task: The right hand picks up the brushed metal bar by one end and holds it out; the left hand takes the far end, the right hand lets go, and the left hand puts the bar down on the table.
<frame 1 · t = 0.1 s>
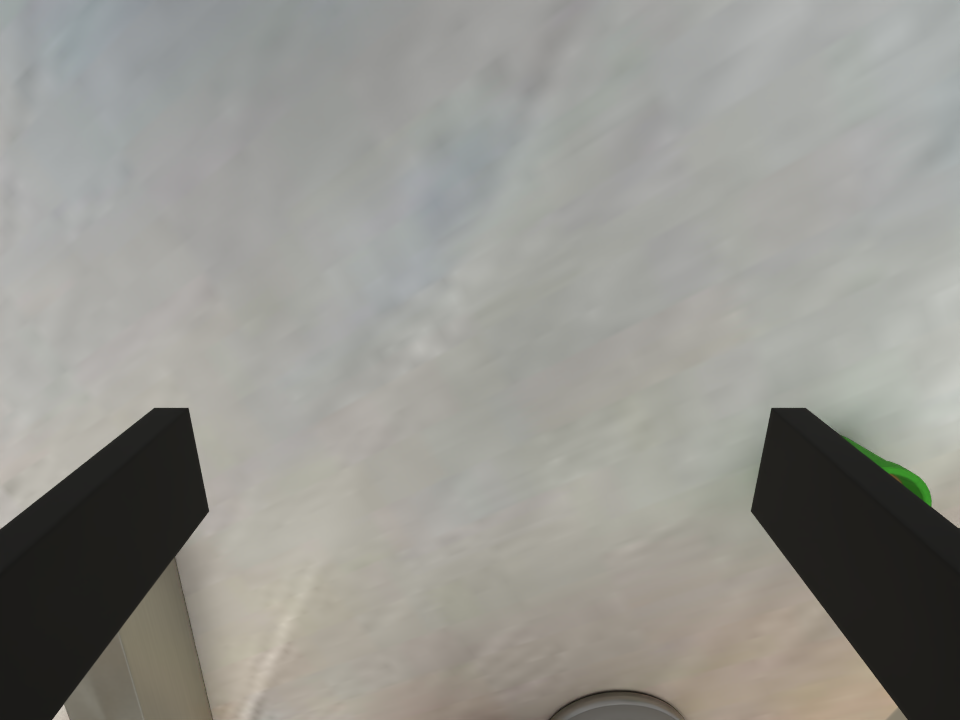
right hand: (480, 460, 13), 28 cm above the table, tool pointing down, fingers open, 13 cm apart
bar: (162, 639, 51), on the table
potted flower: (820, 467, 45), on the table
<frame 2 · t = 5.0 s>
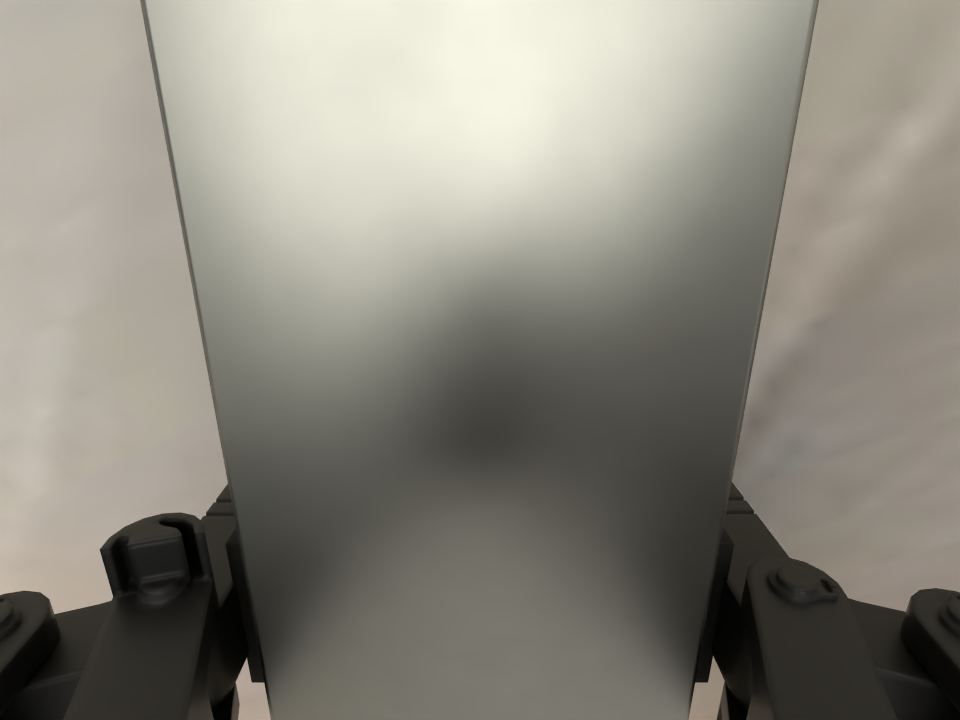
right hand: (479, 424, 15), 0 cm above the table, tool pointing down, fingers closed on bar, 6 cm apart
bar: (479, 27, 12), on the table, touching right hand
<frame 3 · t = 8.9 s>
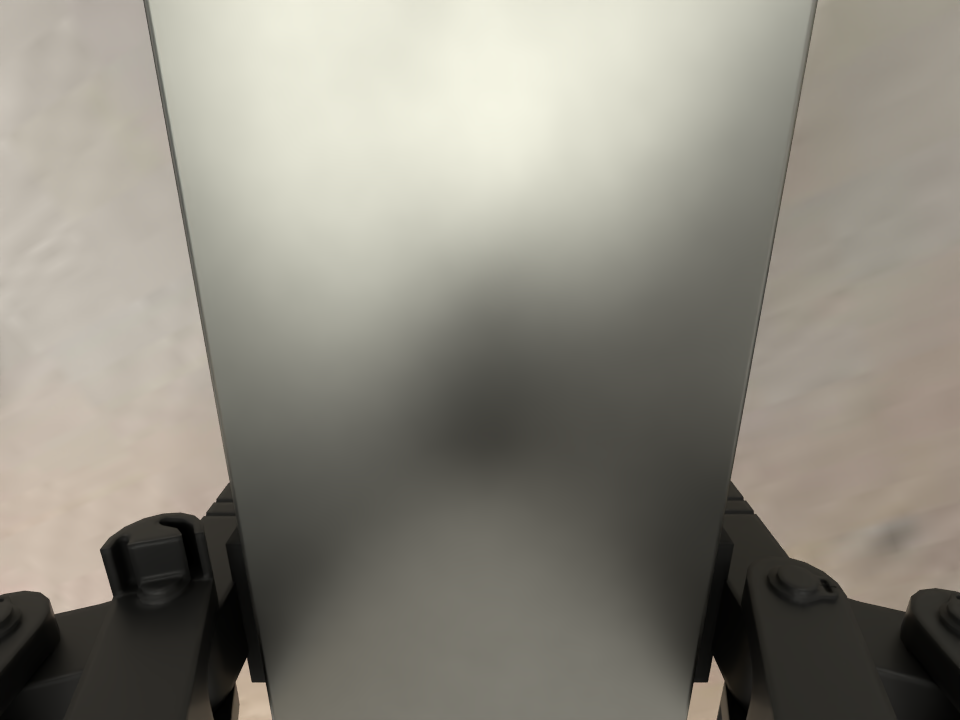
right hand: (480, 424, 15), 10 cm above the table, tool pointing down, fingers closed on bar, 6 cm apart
bar: (480, 27, 12), point 10 cm above the table, touching right hand, left hand
when the right hand's fingers open (10 cm above the table, at t = 9.8 s): bar stays where it is, held by the left hand.
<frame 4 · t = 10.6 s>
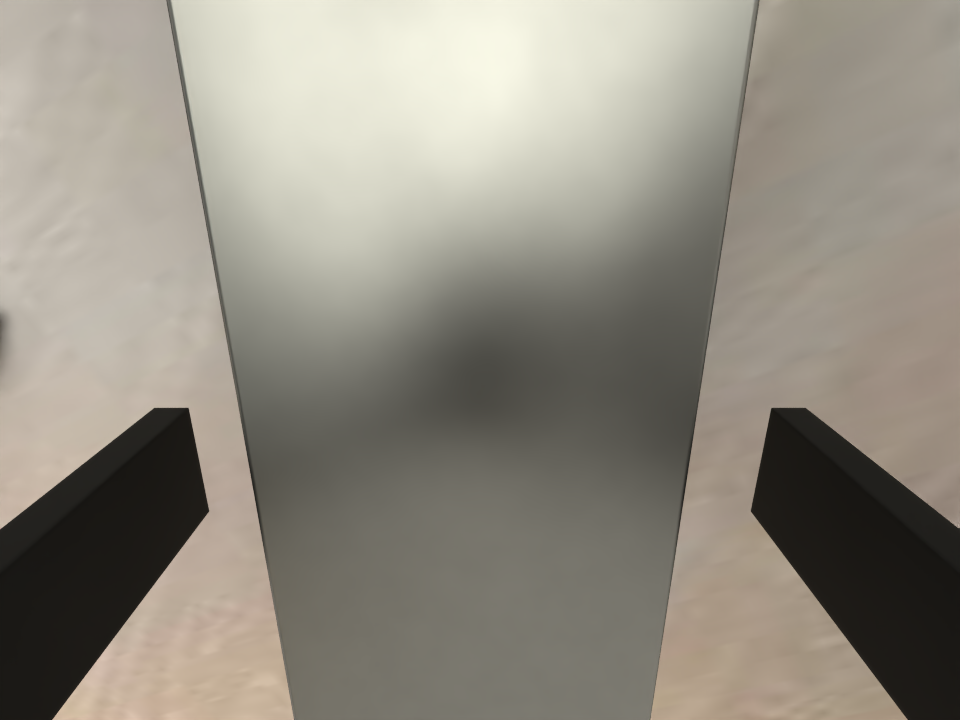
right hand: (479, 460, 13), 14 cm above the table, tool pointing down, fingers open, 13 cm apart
when the left hand's fingers open (4 cm above the table, at t = 20.3 s): bar stays where it is, on the table.
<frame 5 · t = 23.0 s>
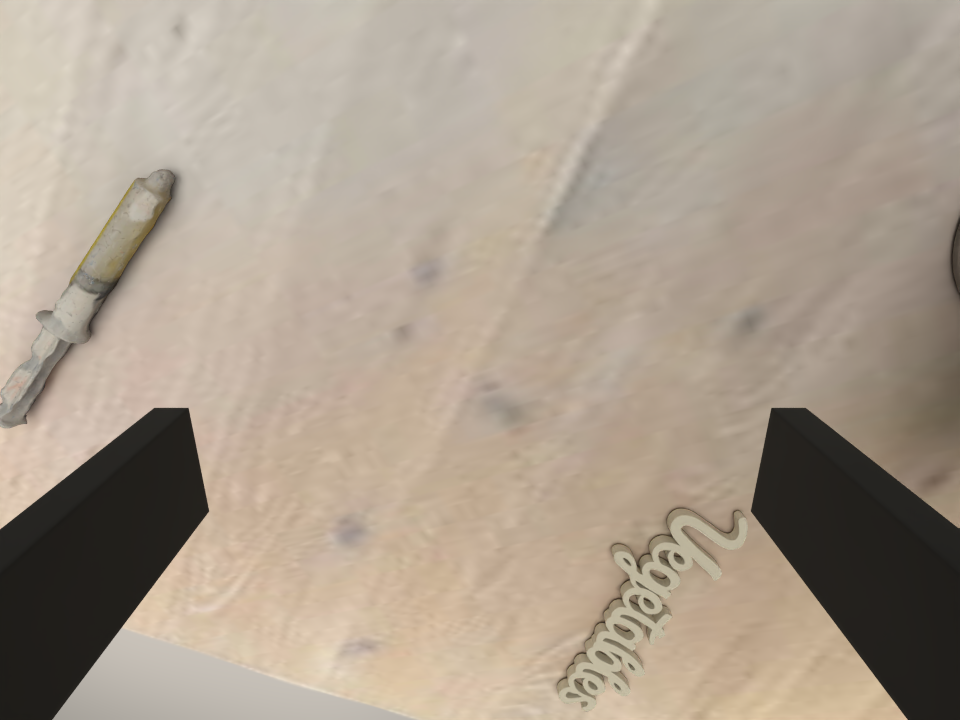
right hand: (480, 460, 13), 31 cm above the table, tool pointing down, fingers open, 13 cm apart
syringe: (91, 304, 43), on the table
decorative sign: (632, 604, 53), on the table
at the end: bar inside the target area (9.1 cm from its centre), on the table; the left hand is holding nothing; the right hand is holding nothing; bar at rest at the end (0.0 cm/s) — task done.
